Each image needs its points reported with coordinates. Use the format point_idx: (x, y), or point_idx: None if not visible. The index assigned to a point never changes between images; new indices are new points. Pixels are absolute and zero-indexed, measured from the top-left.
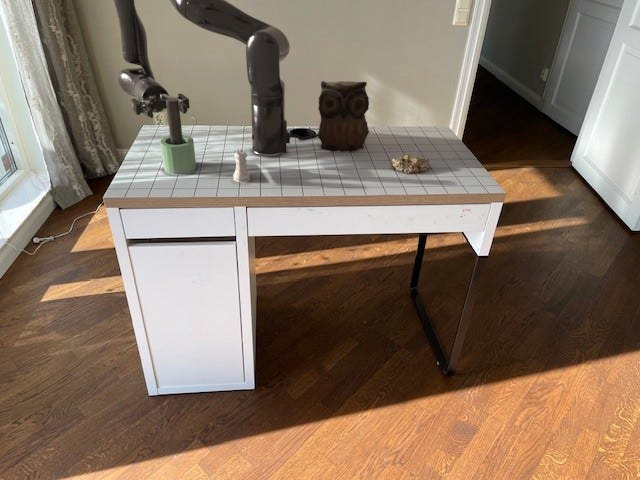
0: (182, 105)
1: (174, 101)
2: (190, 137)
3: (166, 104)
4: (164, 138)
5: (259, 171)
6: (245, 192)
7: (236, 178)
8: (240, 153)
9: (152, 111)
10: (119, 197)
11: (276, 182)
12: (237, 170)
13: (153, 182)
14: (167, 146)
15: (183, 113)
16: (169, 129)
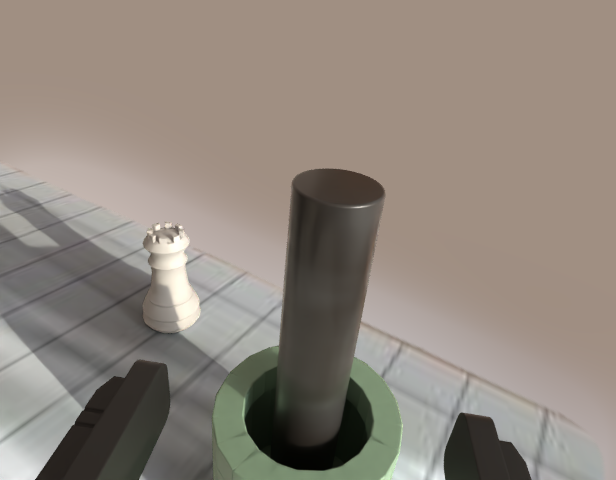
0: (157, 368)
1: (336, 170)
2: (218, 407)
3: (380, 219)
4: (362, 477)
5: (73, 331)
6: (218, 276)
7: (198, 298)
8: (178, 224)
9: (459, 414)
10: (565, 419)
11: (112, 271)
12: (188, 282)
13: (440, 456)
14: (379, 376)
15: (166, 416)
16: (352, 362)
